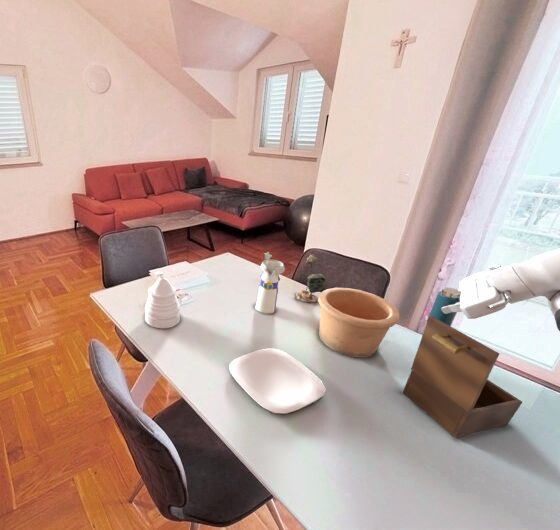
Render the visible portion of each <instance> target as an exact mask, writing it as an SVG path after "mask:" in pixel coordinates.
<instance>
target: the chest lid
mask: <svg viewBox="0 0 560 530" xmlns="http://www.w3.org/2000/svg"><path fill="white" fill-rule="evenodd" d="M428 317H429V318H428ZM428 317H427V319H428V321H427V320H426V323H425V327H424V330H423V333H422V336H421V338H420V342H419V344H418V348H417V351H416V354H415V356H414V359H413V361H412V365H411V367H410V370H411V371H412V370H413V371H414V372H415V373H417V374H418V375H419V376H421V377H422V378H423V379H425V380H426V381H427V382H428V383H430V384H431V385H432V386H434V387H435V388H436V389H438V390H439V391H440V392H442V393H443V394H444V395H446V396H447V397H448V398H450V399H451V400H452V401H454V402H455V403H456V404H458V405H459V406H460V407H462V408H463V409H464V410H466V411H467V412H468V413H469V412H472V410H473V408H474V406H475V404H476V401H477V399H478V397H479V395H480V393H481V391H482V389H483V387H484V385H485V383H486V381H487V379H488V380H489V376H490V374H491V373H492V371H493V369H494V366H495V364H496V362H497V360H498V358H499V356H500V353H499V352H498V351H496V350H494V349H493V348H490V347H489V346H487V345H485V344H483V343H482V342H479V341H478V340H476V339H474V338H473V337H470V336H469V335H467V334H465V333H463V332H462V331H460V330H459V329H456V328H455V327H452V325H451V326H449V325H447V324H445V323H443V322H442V321H440V320H438V319H436V318H434V317H433V316H429V315H428Z"/></svg>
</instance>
